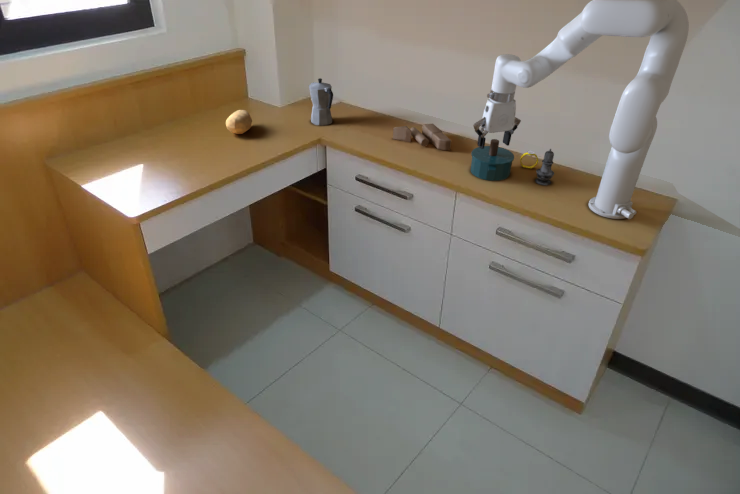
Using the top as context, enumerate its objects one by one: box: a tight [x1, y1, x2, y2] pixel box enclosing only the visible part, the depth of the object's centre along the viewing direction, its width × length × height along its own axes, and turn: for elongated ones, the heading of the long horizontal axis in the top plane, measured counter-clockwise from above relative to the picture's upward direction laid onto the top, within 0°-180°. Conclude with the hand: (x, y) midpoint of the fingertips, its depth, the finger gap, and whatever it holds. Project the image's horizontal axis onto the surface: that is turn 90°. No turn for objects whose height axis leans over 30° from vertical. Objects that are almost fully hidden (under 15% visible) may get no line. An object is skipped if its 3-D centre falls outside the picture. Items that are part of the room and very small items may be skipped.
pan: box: [470, 156, 513, 182], centre depth 177 cm, size 13×19×6 cm
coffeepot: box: [308, 77, 334, 127], centre depth 210 cm, size 15×9×18 cm, turn 37°
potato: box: [225, 109, 253, 135], centre depth 203 cm, size 10×14×8 cm
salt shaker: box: [534, 148, 555, 186], centre depth 170 cm, size 6×6×12 cm
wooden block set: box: [392, 123, 452, 151], centre depth 196 cm, size 17×6×18 cm
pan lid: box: [470, 138, 515, 165], centre depth 174 cm, size 14×14×6 cm
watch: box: [519, 150, 539, 170], centre depth 181 cm, size 6×3×6 cm, turn 78°
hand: (493, 145), depth 174 cm, fingers open, 9 cm apart
